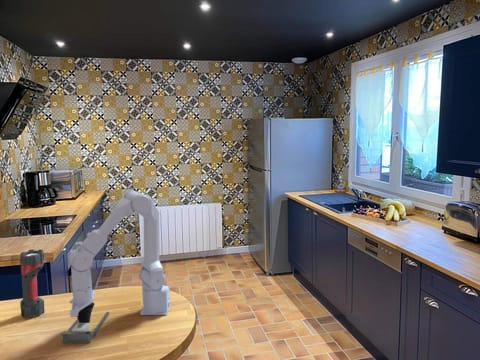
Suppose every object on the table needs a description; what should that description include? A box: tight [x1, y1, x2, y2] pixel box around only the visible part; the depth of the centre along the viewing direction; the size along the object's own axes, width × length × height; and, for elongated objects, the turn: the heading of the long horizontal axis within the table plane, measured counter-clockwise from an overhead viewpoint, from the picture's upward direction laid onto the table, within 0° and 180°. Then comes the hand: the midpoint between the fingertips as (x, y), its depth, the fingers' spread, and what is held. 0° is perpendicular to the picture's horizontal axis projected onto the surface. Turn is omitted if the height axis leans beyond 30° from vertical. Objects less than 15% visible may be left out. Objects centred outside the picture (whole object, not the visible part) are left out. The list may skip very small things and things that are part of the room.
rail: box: [61, 311, 110, 344], centre depth 123 cm, size 8×17×3 cm, turn 0°
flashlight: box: [19, 249, 46, 319], centre depth 131 cm, size 8×8×23 cm
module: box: [72, 322, 91, 332], centre depth 118 cm, size 4×4×4 cm
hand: (85, 326), depth 121 cm, fingers closed
